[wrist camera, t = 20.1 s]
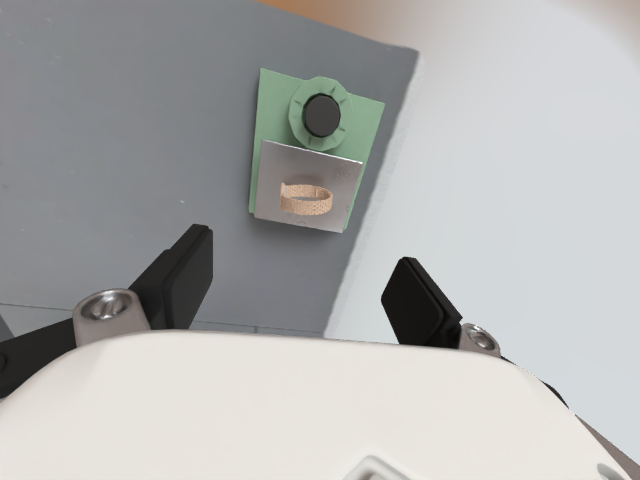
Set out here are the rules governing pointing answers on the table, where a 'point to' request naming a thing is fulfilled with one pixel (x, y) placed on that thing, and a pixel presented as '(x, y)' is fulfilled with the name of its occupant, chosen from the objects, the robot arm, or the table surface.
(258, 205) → the brushed metal plate
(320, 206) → the perforated watch strap
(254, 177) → the scale
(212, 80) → the table surface
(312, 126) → the button
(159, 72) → the table surface
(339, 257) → the table surface
